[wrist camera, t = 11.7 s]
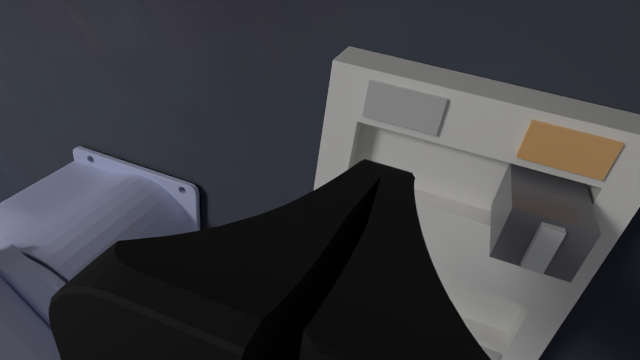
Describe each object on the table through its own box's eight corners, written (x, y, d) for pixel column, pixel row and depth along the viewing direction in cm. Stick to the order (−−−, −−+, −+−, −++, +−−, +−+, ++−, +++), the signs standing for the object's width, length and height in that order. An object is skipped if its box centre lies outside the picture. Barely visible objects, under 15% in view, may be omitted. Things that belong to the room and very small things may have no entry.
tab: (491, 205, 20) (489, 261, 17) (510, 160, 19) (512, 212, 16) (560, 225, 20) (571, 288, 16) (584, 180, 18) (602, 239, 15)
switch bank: (311, 276, 28) (295, 305, 26) (349, 46, 20) (331, 61, 18) (518, 351, 26) (519, 390, 24) (660, 119, 17) (682, 147, 15)
